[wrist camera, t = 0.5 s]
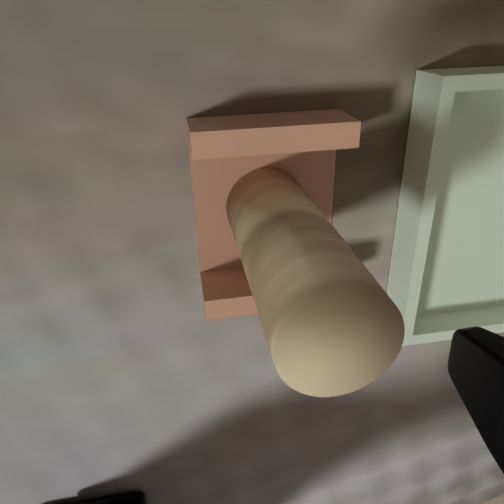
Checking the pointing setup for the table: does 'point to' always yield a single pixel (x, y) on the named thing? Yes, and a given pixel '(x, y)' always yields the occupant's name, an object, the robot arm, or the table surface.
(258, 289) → the dowel
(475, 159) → the tray
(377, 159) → the table surface
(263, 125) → the cradle
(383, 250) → the table surface
